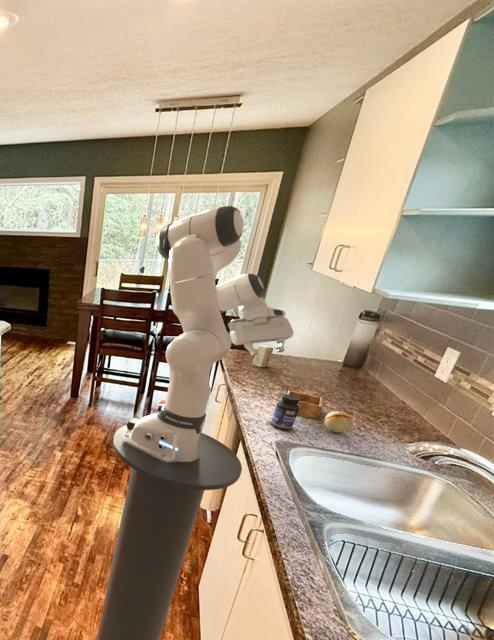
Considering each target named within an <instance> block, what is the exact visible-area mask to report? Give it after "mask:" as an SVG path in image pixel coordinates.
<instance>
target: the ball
mask: <svg viewBox="0 0 494 640" xmlns="http://www.w3.org/2000/svg"><path fill="white" fill-rule="evenodd" d="M323 424H324V426H325V427H326V428H327V430H329V431H331V432H333V433H346V432H347V431H349V430H350V429H351V428H352V426H353V419H352V417H351V416H350V415H349V414H347V413H346V412H343V411H332V412H329V413H328V414H327V415H326V416H325V417H324V419H323Z"/></svg>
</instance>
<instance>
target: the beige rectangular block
mask: <svg viewBox="0 0 494 640" xmlns="http://www.w3.org/2000/svg"><path fill="white" fill-rule="evenodd" d="M274 348H275V347H274V346H271V345H267V344H258V345H257V348H256V349H257V351H258V354H256V355H254V359H253V361H252V365H253V366H257V367H259V368H268V367H269V364H270V361H271V359H272V355H273V352H274Z"/></svg>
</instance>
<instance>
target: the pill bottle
mask: <svg viewBox="0 0 494 640" xmlns="http://www.w3.org/2000/svg"><path fill="white" fill-rule="evenodd" d="M299 401H300V399H299V398H298V397H296V396H293V395H287V393H285V394H282V397H281V400H279V401H278V402H277V403H276V405H275V408H274V411H273V414H272V416H271V420H270V422H269V423H270V425H271V426H272V427H273V428H276V429H278V430H280V431H281V430H282V431H290V430H292V428H293V426H294V423H295V421H296V419H297V416H298V415H297V413H298V411H299V406H298V405H297V403H299Z"/></svg>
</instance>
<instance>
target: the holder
mask: <svg viewBox="0 0 494 640" xmlns="http://www.w3.org/2000/svg"><path fill="white" fill-rule="evenodd" d="M286 394H287V395H293V396H296V397H298V398H299V399H300V401H299V403H297V405H298V406H299V411H298V413H297V416H301V417H305V418H308V419H313V420H317V421H318V419H319V417H320V414H321V412H322V409H323V407H324V406H323V405H324V397H321V396H316V395H312V394H308V393H304V392H300V391H295V390H289V389H288V391H287V393H286Z"/></svg>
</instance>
